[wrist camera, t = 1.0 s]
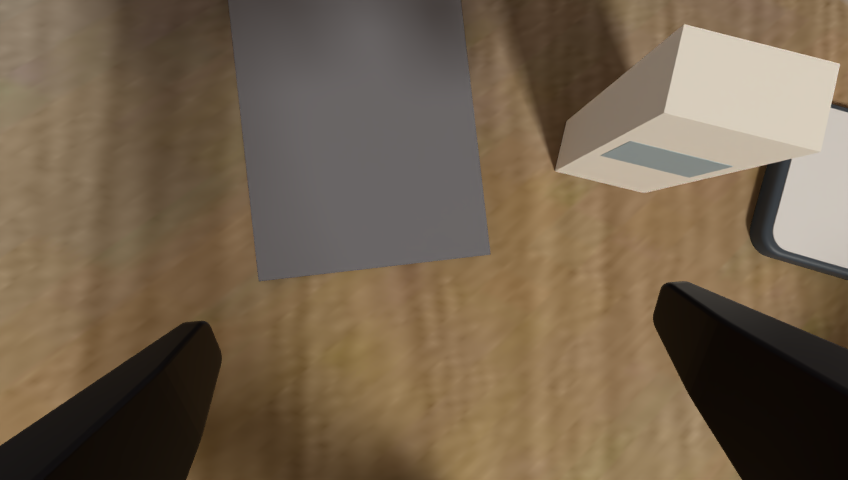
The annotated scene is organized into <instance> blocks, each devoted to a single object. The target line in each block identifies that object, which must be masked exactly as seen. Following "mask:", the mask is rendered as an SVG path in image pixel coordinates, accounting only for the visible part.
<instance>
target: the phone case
mask: <svg viewBox="0 0 848 480" xmlns="http://www.w3.org/2000/svg"><path fill="white" fill-rule="evenodd" d="M750 239H751V242H752V244H753V246H754V247H755V249H756V250H757V251H758V252H759V253H761V254H762V255H765V256H767V257H770V258H774V259H777V260H781V261H784V262H787V263H791V264H794V265H798V266H801V267H804V268H808V269H811V270H815V271H818V272H822V273H825V274H828V275H832V276H835V277H839V278H842V279H845V280H848V108H845V107H841V106H838V105H835V104H831V108H830V112H829V117H828V122H827V126H826V131H825V135H824V140H823V144H822V149H821V152H818V153H814V154H810V155H806V156H801V157H797V158H793V159H788V160H784V161H780V162H775V163H771V164H767V168H766V171H765V175H764V179H763V182H762V186H761V190H760V193H759V197H758V201H757V204H756V208H755V212H754V215H753V219H752V223H751V227H750Z"/></svg>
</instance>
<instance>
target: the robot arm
mask: <svg viewBox="0 0 848 480" xmlns="http://www.w3.org/2000/svg"><path fill="white" fill-rule="evenodd" d="M653 322H654V326H655V328H656V330H657V332H658V334H659V336H660V338H661V340H662V342H663V344H664V346H665V348H666V350H667V352H668V354H669V356H670V358H671V360H672V362H673V364H674V366H675V368H676V370H677V372H678V374H679V376H680V378H681V380H682V382H683V384H684V386H685V388H686V390H687V392H688V394H689V396H690V397H691V399H692V401H693V402H694V404H695V406H696V407H697V409H698V410H699V412H700V414H701V415H702V417H703V418H704V420H705V422H706V423H707V425H708V426H709V428H710V430H711V431H712V433H713V434H714V436H715V438H716V439H717V441H718V442H719V444H720V445H721V447H722V449H723V450H724V452H725V453H726V455H727V457H728V458H729V460H730V461H731V463H732V465H733V466H734V468H735V469H736V471H737V473H738V474H739V476H740V477H741V479H742V480H848V349H846V348H844V347H841V346H839V345H837V344H834V343H832V342H830V341H827V340H825V339H822V338H820V337H818V336H815V335H813V334H811V333H808V332H806V331H803V330H801V329H799V328H796V327H794V326H792V325H789V324H787V323H784V322H782V321H780V320H777V319H775V318H773V317H770V316H768V315H765V314H763V313H761V312H758V311H756V310H754V309H751V308H749V307H747V306H744V305H742V304H739V303H737V302H735V301H732V300H730V299H728V298H725V297H723V296H720V295H718V294H716V293H713V292H711V291H709V290H706V289H704V288H701V287H699V286H697V285H694V284H692V283H690V282H686V281H680V282H668V283H666V284H664V285H663V286H662V287H661V290H660V293H659V296H658V300H657V303H656V307H655V310H654V314H653ZM221 361H222V355H221V350H220V348H219V345H218V343H217V341H216V338H215V336H214V333H213V331H212V329H211V327H210V325H209V324H208V323H207V322H205V321H194V322H185V323H182V324H181V325H179V326H178V327H176V328H175V329H173V330H172V331H170V332H169V333H167V334H166V335H164V336H163V337H161V338H160V339H158V340H157V341H155V342H154V343H152V344H151V345H149V346H148V347H146V348H145V349H143V350H142V351H140V352H139V353H137V354H136V355H134V356H133V357H131V358H130V359H128V360H127V361H125V362H124V363H123V364H121V365H120V366H118V367H117V368H115V369H114V370H112V371H111V372H109V373H108V374H106V375H105V376H103V377H102V378H100V379H99V380H97V381H96V382H94V383H93V384H91V385H90V386H88V387H87V388H85V389H84V390H82V391H81V392H79V393H78V394H76V395H75V396H73V397H72V398H70V399H69V400H68V401H66V402H65V403H63V404H62V405H60V406H59V407H57V408H56V409H54V410H53V411H51V412H50V413H48V414H47V415H45V416H44V417H42V418H41V419H39V420H38V421H36V422H35V423H33V424H32V425H30V426H29V427H27V428H26V429H24V430H23V431H21V432H20V433H18V434H17V435H15V436H14V437H12V438H11V439H10V440H8V441H7V442H5V443H4V444H2V445H1V446H0V480H186V478H187V476H188V473H189V470H190V468H191V465H192V462H193V460H194V457H195V454H196V452H197V449H198V446H199V443H200V440H201V437H202V434H203V431H204V427H205V424H206V420H207V416H208V412H209V408H210V404H211V401H212V397H213V393H214V389H215V385H216V381H217V378H218V374H219V370H220V366H221Z"/></svg>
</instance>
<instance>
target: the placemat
mask: <svg viewBox="0 0 848 480" xmlns="http://www.w3.org/2000/svg"><path fill="white" fill-rule="evenodd" d="M228 5H229V14H230V23H231V32H232V41H233V50H234V60H235V69H236V78H237V87H238V96H239V105H240V115H241V124H242V133H243V142H244V151H245V160H246V169H247V179H248V188H249V197H250V206H251V215H252V224H253V234H254V243H255V252H256V261H257V270H258V279H259V281H266V280H274V279H283V278H292V277H300V276H309V275H318V274H326V273H335V272H343V271H352V270H361V269H369V268H378V267H387V266H395V265H404V264H413V263H421V262H430V261H438V260H447V259H456V258H464V257H473V256H482V255H490V246H489V238H488V229H487V220H486V212H485V203H484V195H483V186H482V178H481V169H480V161H479V152H478V143H477V135H476V126H475V118H474V109H473V101H472V92H471V84H470V75H469V66H468V58H467V49H466V41H465V32H464V24H463V15H462V7H461V0H228Z"/></svg>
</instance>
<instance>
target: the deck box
mask: <svg viewBox="0 0 848 480" xmlns="http://www.w3.org/2000/svg"><path fill="white" fill-rule="evenodd" d="M839 67H840V64H839V63H835V62H831V61H827V60H823V59H819V58H815V57H811V56H807V55H803V54H799V53H795V52H792V51H788V50H784V49H780V48H776V47H772V46H768V45H764V44H760V43H756V42H752V41H748V40H744V39H740V38H736V37H732V36H729V35H725V34H721V33H717V32H713V31H709V30H705V29H701V28H697V27H693V26H689V25H685V24H684V25H683V26H681V27H680V28H679V29H678V30H677V31H675V32H674V33H673V34H672V35H670V36H669V37H668V38H667V39H666V40H664V41H663V42H662V43H661V44H659V45H658V46H657V47H656V48H655V49H653V50H652V51H651V52H650V53H649V54H647V55H646V56H645V57H644V58H642V59H641V60H640V61H639V62H638V63H636V64H635V65H634V66H633V67H632V68H630V69H629V70H628V71H627V72H625V73H624V74H623V75H622V76H621V77H619V78H618V79H617V80H616V81H615V82H613V83H612V84H611V85H610V86H608V87H607V88H606V89H605V90H604V91H602V92H601V93H600V94H599V95H598V96H596V97H595V98H594V99H593V100H591V101H590V102H589V103H588V104H587V105H585V106H584V107H583V108H582V109H581V110H579V111H578V112H577V113H576V114H574V115H573V116H572V117H571V118H570V119H568V120H567V121H566V126H565V130H564V134H563V138H562V143H561V147H560V151H559V156H558V160H557V164H556V168H555V171H556V172H560V173H564V174H569V175H573V176H577V177H581V178H585V179H589V180H593V181H597V182H601V183H605V184H609V185H613V186H618V187H622V188H626V189H630V190H634V191H638V192H642V193H646V192H650V191H655V190H659V189H663V188H668V187H672V186H676V185H681V184H685V183H689V182H694V181H698V180H702V179H706V178H711V177H715V176H719V175H724V174H728V173H732V172H737V171H741V170H745V169H750V168H754V167H758V166H762V165H767V164H771V163H775V162H780V161H784V160H788V159H793V158H797V157H801V156H806V155H810V154H814V153H818V152H821V149H822V144H823V140H824V135H825V131H826V126H827V122H828V117H829V112H830V108H831V103H832V99H833V94H834V90H835V85H836V80H837V76H838V71H839Z"/></svg>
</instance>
